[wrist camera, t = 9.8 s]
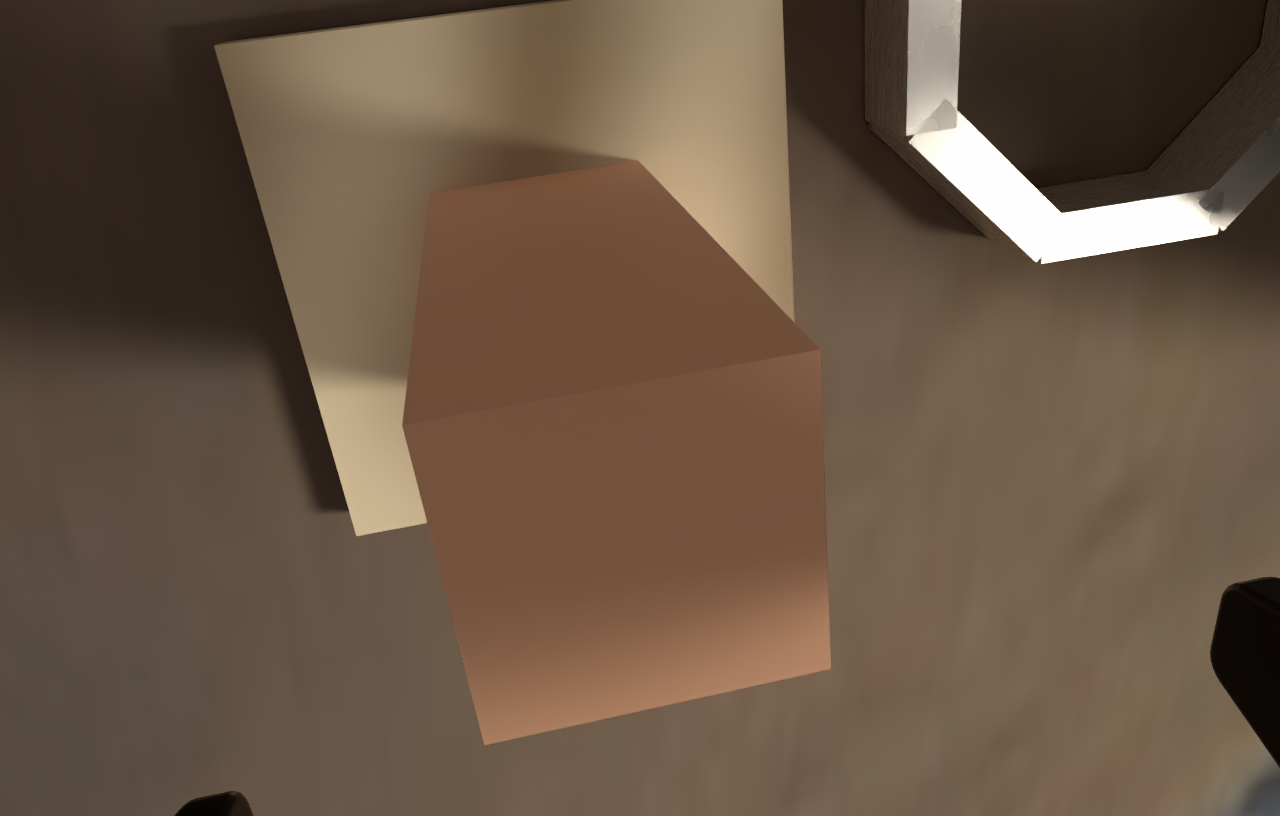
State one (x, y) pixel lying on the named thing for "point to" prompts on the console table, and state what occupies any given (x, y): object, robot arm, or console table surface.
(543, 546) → the peg
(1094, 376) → the console table surface
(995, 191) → the metal ring
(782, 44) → the maple board
